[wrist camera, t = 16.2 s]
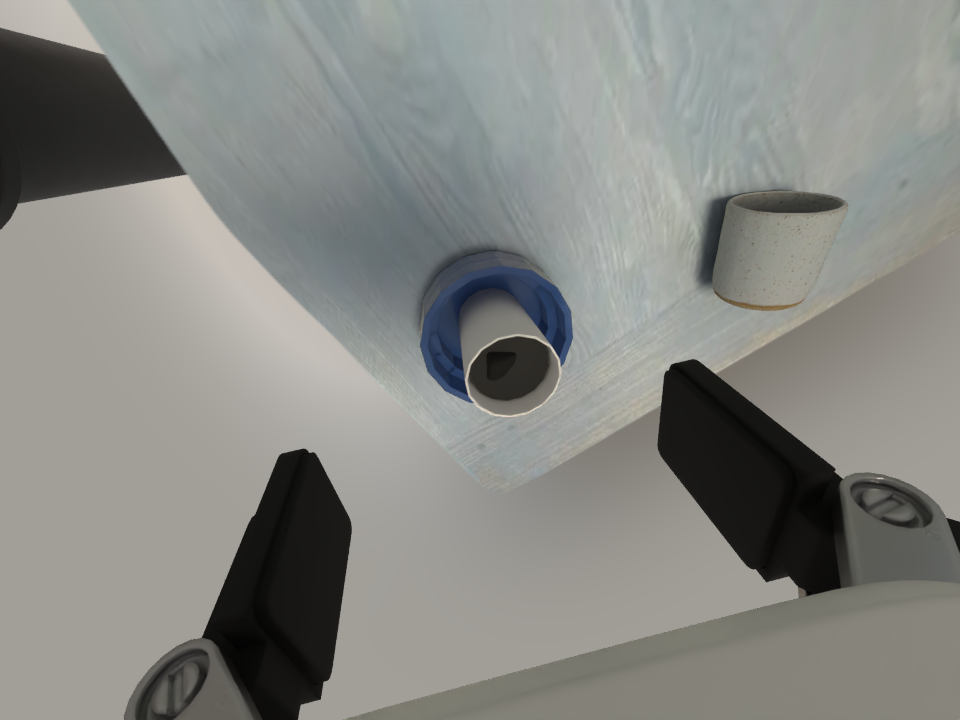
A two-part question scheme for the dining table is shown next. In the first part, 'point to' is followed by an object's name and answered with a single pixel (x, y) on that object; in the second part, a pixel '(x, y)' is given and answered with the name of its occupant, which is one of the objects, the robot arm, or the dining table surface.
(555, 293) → the bowl
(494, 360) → the white cylindrical cup
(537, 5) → the dining table surface
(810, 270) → the ceramic mug
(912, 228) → the dining table surface
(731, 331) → the dining table surface
